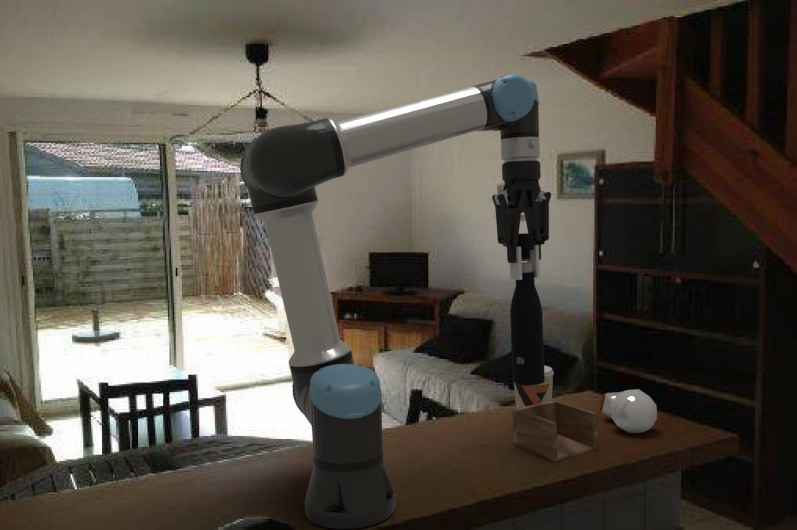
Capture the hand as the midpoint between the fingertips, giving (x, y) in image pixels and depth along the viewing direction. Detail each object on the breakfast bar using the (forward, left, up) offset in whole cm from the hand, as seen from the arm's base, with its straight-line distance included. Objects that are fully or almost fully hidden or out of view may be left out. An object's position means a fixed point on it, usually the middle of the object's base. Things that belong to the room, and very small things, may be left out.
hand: (525, 278), depth 138 cm
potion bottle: (+26, -2, -36) cm, 44 cm away
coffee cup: (+14, +15, -36) cm, 41 cm away
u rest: (+5, -2, -35) cm, 36 cm away
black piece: (0, 0, -21) cm, 21 cm away
